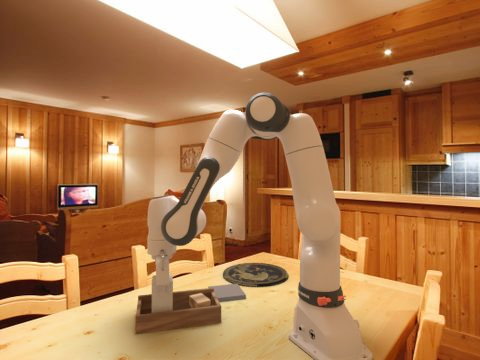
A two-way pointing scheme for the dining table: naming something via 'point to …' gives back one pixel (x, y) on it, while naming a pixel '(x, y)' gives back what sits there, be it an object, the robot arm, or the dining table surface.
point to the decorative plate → (255, 275)
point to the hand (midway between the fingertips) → (161, 290)
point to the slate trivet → (228, 292)
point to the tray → (177, 312)
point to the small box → (165, 302)
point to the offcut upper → (199, 301)
